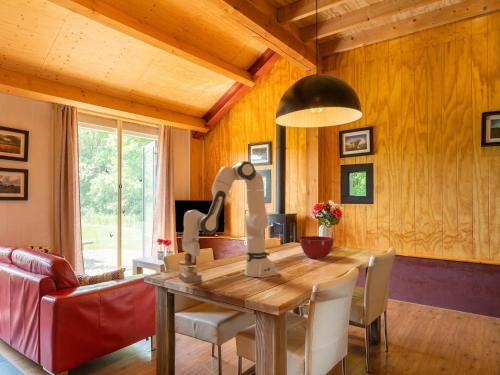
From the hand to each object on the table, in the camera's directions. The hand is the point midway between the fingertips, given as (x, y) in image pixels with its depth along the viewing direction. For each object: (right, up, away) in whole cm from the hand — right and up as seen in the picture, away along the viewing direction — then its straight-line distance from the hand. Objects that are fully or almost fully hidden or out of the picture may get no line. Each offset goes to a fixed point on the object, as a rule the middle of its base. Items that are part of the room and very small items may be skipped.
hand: (190, 261), depth 189 cm
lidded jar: (-4, -11, +12) cm, 17 cm away
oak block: (0, -8, 0) cm, 8 cm away
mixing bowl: (+89, -13, +72) cm, 115 cm away
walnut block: (0, -2, 0) cm, 2 cm away
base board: (0, -11, 0) cm, 11 cm away
